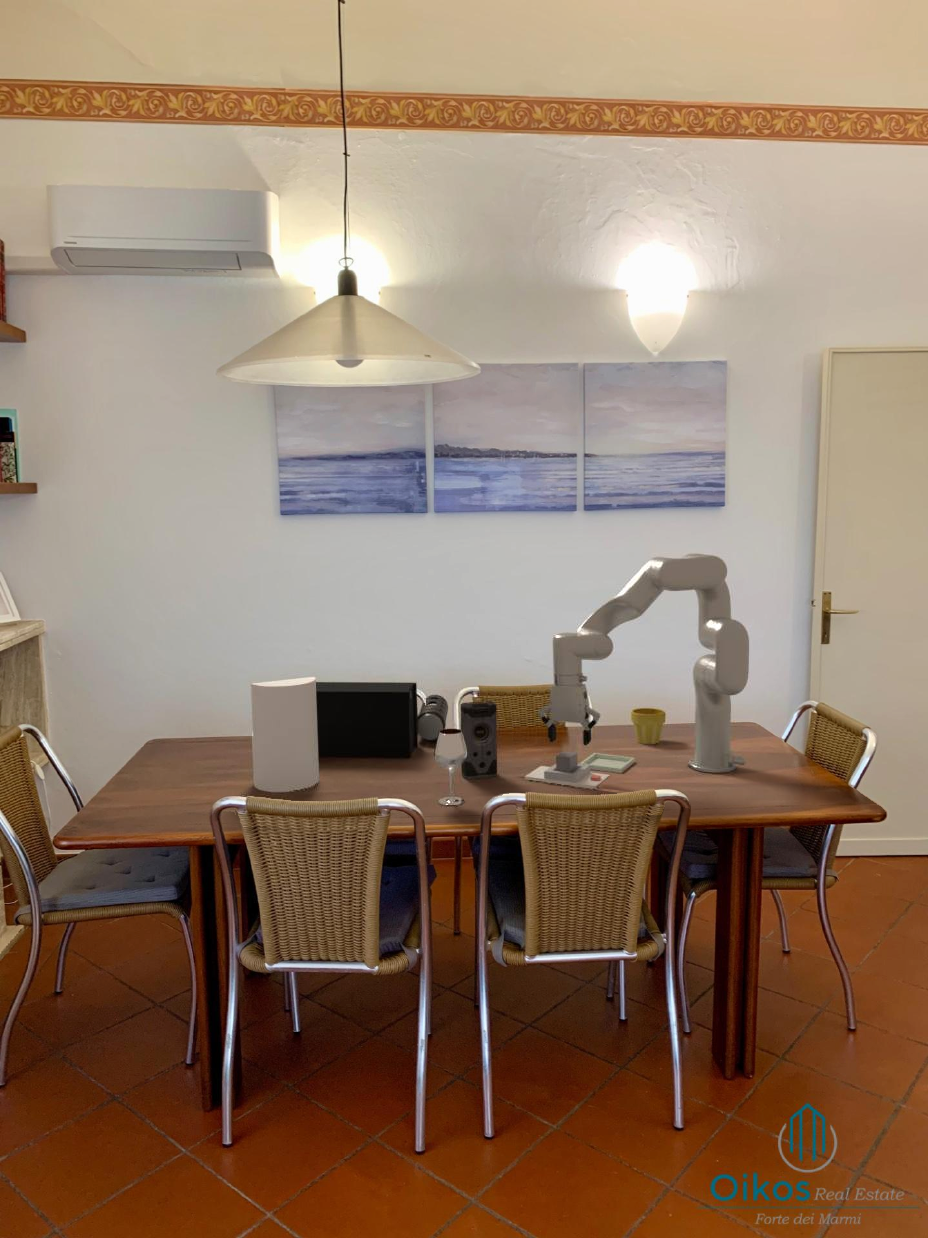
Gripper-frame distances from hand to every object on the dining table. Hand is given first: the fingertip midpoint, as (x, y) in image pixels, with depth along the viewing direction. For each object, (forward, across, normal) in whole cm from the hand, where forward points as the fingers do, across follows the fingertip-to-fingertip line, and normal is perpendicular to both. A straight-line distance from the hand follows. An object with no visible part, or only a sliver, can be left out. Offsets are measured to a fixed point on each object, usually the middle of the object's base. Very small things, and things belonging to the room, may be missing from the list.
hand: (569, 742), depth 244 cm
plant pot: (+11, -7, -46) cm, 48 cm away
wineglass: (+9, +20, +31) cm, 38 cm away
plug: (+9, +1, +1) cm, 9 cm away
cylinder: (+8, +68, +36) cm, 77 cm away
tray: (+10, -5, -14) cm, 19 cm away
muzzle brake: (+10, +59, -27) cm, 66 cm away
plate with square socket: (+10, +1, +1) cm, 10 cm away
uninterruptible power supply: (+9, +68, +1) cm, 68 cm away
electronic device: (+10, +24, +8) cm, 27 cm away
